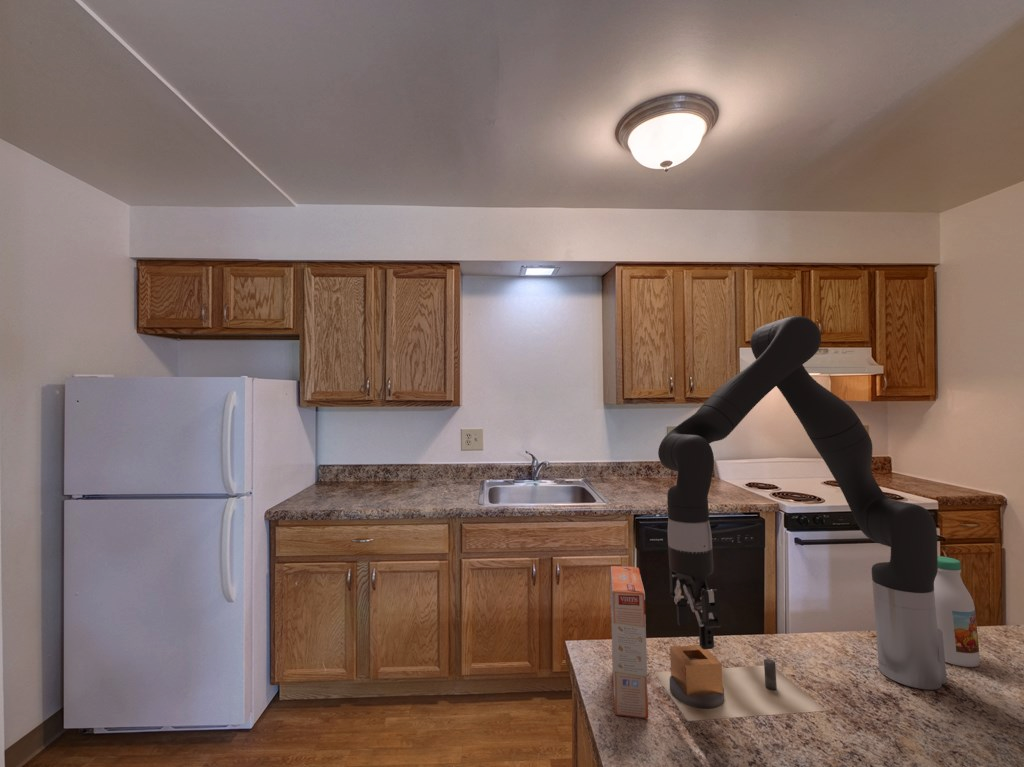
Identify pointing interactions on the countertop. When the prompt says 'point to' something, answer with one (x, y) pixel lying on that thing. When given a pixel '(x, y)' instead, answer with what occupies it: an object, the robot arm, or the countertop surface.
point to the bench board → (743, 695)
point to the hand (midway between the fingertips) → (694, 636)
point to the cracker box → (629, 642)
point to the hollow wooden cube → (696, 670)
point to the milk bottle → (955, 615)
